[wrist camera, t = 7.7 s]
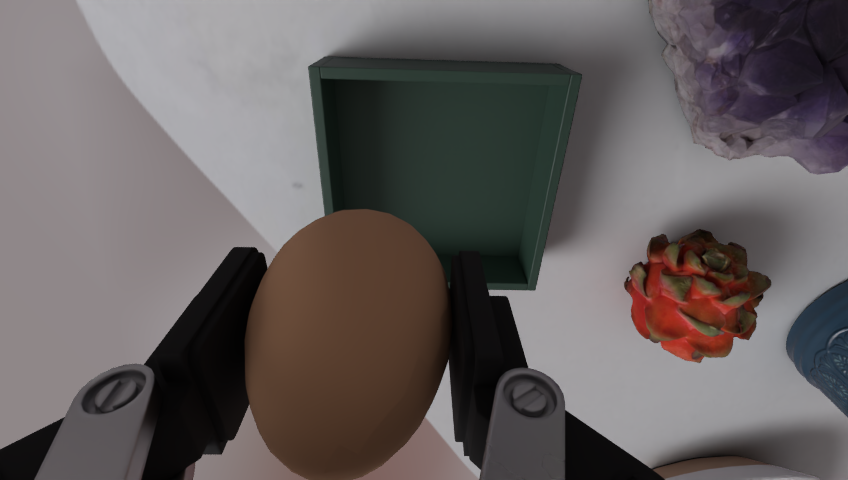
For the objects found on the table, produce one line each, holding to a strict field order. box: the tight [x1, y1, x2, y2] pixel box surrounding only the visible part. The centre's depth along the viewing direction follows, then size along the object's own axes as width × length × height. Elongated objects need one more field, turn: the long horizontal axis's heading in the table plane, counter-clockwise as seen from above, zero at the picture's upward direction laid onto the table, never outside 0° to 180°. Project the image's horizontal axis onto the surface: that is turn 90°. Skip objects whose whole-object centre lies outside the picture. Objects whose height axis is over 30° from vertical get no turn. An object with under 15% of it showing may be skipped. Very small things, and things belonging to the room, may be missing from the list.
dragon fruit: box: [624, 229, 771, 363], centre depth 29 cm, size 8×8×12 cm
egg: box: [244, 209, 453, 480], centre depth 11 cm, size 5×5×8 cm
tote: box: [308, 57, 582, 290], centre depth 26 cm, size 14×14×4 cm
